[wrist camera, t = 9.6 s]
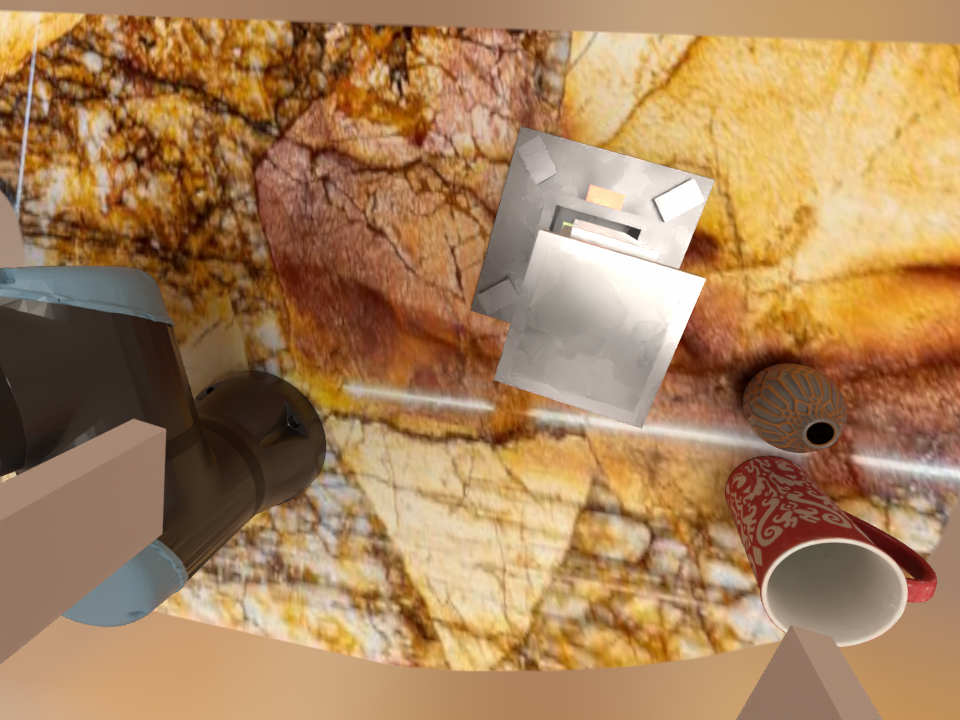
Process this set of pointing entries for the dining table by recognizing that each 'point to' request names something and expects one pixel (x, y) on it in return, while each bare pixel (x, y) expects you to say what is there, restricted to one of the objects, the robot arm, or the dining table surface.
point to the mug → (820, 556)
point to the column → (597, 321)
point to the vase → (794, 408)
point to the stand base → (582, 208)
